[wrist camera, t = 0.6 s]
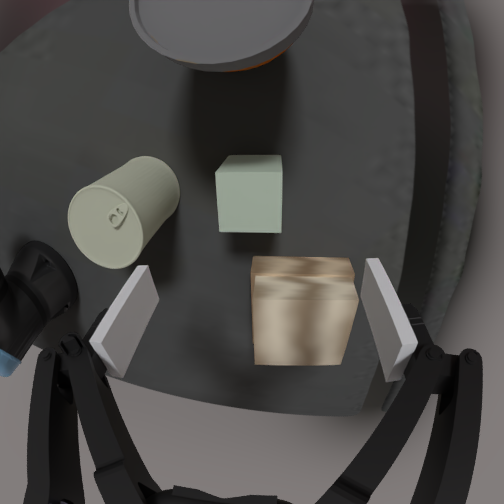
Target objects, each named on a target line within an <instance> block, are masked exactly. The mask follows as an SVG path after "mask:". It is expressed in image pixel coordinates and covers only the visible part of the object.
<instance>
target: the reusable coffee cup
mask: <svg viewBox="0 0 504 504" xmlns="http://www.w3.org/2000/svg"><path fill="white" fill-rule="evenodd" d="M313 4H314V0H129V13H130V17H131V20H132V24H133V26H134V28H135V30H136V31H137V33H138V35H139V36H140V38H141V39H142V40H143V41H144V42H145V43H146V44H147V45H148V46H149V47H151V48H153V49H154V50H156V51H157V52H159V53H160V54H162V55H164V56H165V57H167V58H168V59H170V60H171V61H173V62H175V63H177V64H180V65H182V66H185V67H187V68H191V69H196V70H201V71H212V72H234V71H244V70H248V69H252V68H256V67H259V66H261V65H264V64H266V63H268V62H270V61H272V60H273V59H275V58H276V57H278V56H279V55H281V54H282V53H284V52H285V51H286V50H287V49H288V48H289V47H290V46H291V45H292V44H293V43H294V42H295V41H296V40H297V39H298V38H299V36H300V35H301V34H302V32H303V31H304V29H305V28H306V26H307V25H308V22H309V20H310V17H311V15H312V12H313Z"/></svg>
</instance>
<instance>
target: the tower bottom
mask: <svg viewBox="0 0 504 504" xmlns="http://www.w3.org/2000/svg"><path fill="white" fill-rule="evenodd" d="M255 276H298V277H352V280H353V281H354V277H355V274H354V271H353V268H352V265H351V263H350V260H349V258H327V257H278V256H253V261H252V267H251V300H252V331H253V344H254V325H253V292H254V284H255Z"/></svg>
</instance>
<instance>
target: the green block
mask: <svg viewBox="0 0 504 504" xmlns="http://www.w3.org/2000/svg"><path fill="white" fill-rule="evenodd" d="M215 177H216V191H217V205H218V218H219V231H220V232H259V233H281V220H282V161H281V155H229V156H228V157H227V158H226V160H225V161H224V162H223V163H222V165H221V166H220V167H219V168H218V170H217V171H216V172H215Z"/></svg>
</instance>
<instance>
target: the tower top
mask: <svg viewBox="0 0 504 504" xmlns="http://www.w3.org/2000/svg"><path fill="white" fill-rule="evenodd" d="M358 302H359V299H358V296H357V293H356V289H355V286H354V283H353V280H352V277H298V276H255V284H254V292H253V325H254V353H255V365H340V364H341V361H342V358H343V355H344V352H345V349H346V345H347V342H348V338H349V335H350V332H351V328H352V324H353V321H354V317H355V313H356V310H357V306H358Z"/></svg>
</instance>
